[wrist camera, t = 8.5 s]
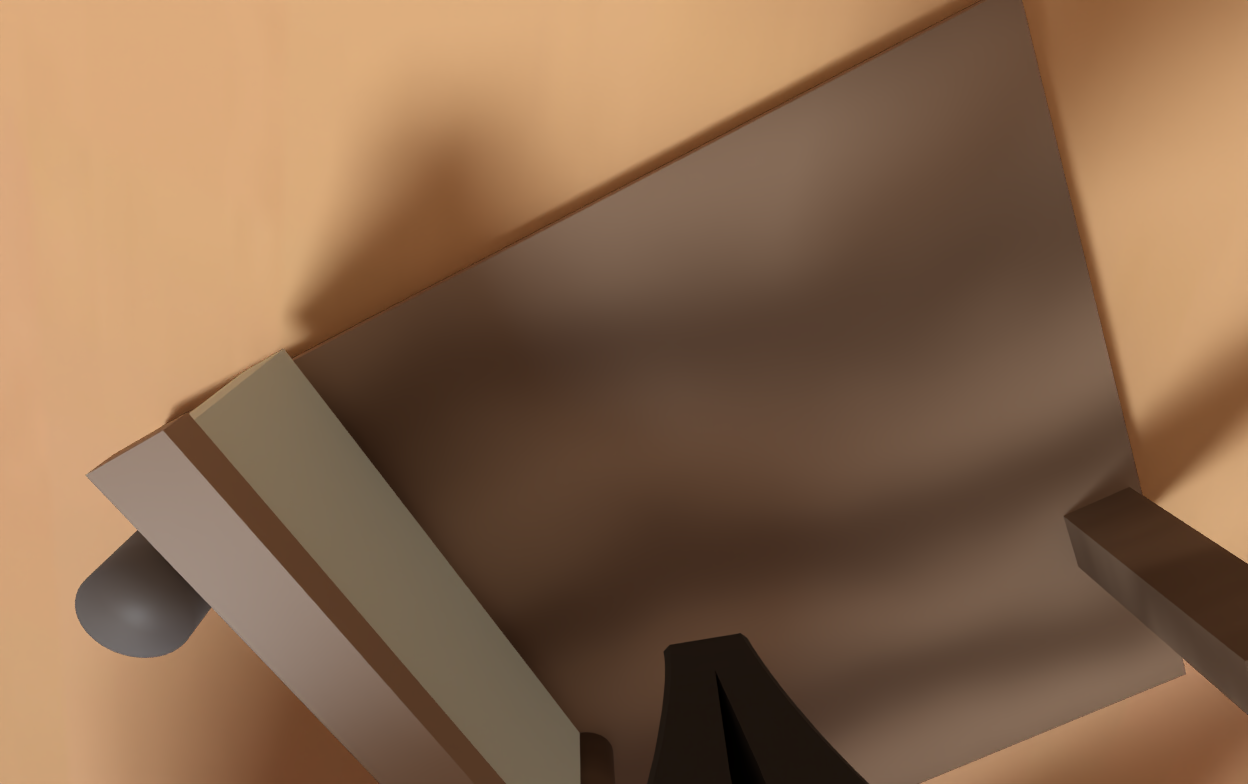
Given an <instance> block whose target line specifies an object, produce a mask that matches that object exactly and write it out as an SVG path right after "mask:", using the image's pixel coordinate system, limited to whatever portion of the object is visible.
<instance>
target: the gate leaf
mask: <svg viewBox="0 0 1248 784" xmlns="http://www.w3.org/2000/svg"><path fill="white" fill-rule="evenodd" d="M86 476H87V477H88V478H89V480H90V481H91V482H92V483H93V484H94V485H95V486H96V487H97V488H98V489H99V490H100V491H101V492H102V493H103V494H104V495H105V496H106V497H107V498H108V499H109V500H110V502H111V503H112V504H113V505H114V506H115V507H116V508H117V509H118V510H119V511H120V512H121V513H122V514H123V515H124V516H125V517H126V518H127V519H128V520H129V521H130V522H131V524H132V525H133V526H134V527H135V528H136V529H137V530H138V531H139V532H140V533H141V534H142V535H143V536H144V537H145V538H146V539H147V540H148V541H149V542H150V543H151V544H152V546H153V547H154V548H155V549H156V550H157V551H158V552H159V553H160V554H161V555H162V556H163V557H164V558H165V559H166V560H167V561H168V562H169V563H170V564H171V565H172V566H173V567H174V569H175V570H176V571H177V572H178V573H179V574H180V575H181V576H182V577H183V578H184V579H185V580H186V581H187V582H188V583H189V584H190V585H191V586H192V587H193V588H194V589H195V591H196V592H197V593H198V594H199V595H200V596H201V597H202V598H203V599H204V600H205V601H206V602H207V603H208V604H209V605H210V606H211V607H212V608H213V609H214V610H215V611H216V613H217V614H218V615H219V616H220V617H221V618H222V619H223V620H224V621H225V622H226V623H227V624H228V625H229V626H230V627H231V628H232V629H233V630H234V631H235V632H236V633H237V635H238V636H239V637H240V638H241V639H242V640H243V641H244V642H245V643H246V644H247V645H248V646H249V647H250V648H251V649H252V650H253V651H254V652H255V653H256V654H257V655H258V657H259V658H260V659H261V660H262V661H263V662H264V663H265V664H266V665H267V666H268V667H269V668H270V669H271V670H272V671H273V672H274V673H275V674H276V675H277V676H278V677H279V679H280V680H281V681H282V682H283V683H284V684H285V685H286V686H287V687H288V688H289V689H290V690H291V691H292V692H293V693H294V694H295V695H296V696H297V697H298V698H299V699H300V700H301V702H302V703H303V704H304V705H305V706H306V707H307V708H308V709H309V710H310V711H311V712H312V713H313V714H314V715H315V716H316V717H317V718H318V719H319V720H320V721H321V722H322V724H323V725H324V726H325V727H326V728H327V729H328V730H329V731H330V732H331V733H332V734H333V735H334V736H335V737H336V738H337V739H338V740H339V741H340V742H341V743H342V744H343V746H344V747H345V748H346V749H347V750H348V751H349V752H350V753H351V754H352V755H353V756H354V757H355V758H356V759H357V760H358V761H359V762H360V763H361V764H362V765H363V766H364V768H365V769H366V770H367V771H368V772H369V773H370V774H371V775H372V776H373V777H374V778H375V779H376V780H377V781H378V782H379V783H380V784H581V782H580V733H579V731H578V730H577V729H576V727H575V726H574V725H573V724H572V722H571V721H570V720H569V718H568V717H567V716H566V714H565V713H564V712H563V711H562V709H561V708H560V707H559V705H558V704H557V703H556V702H555V700H554V699H553V698H552V696H551V695H550V694H549V692H548V691H547V690H546V689H545V687H544V686H543V685H542V683H541V682H540V681H539V679H538V678H537V677H536V676H535V674H534V673H533V672H532V670H531V669H530V668H529V666H528V665H527V664H526V663H525V661H524V660H523V659H522V657H521V656H520V655H519V653H518V652H517V651H516V650H515V648H514V647H513V646H512V644H511V643H510V642H509V640H508V639H507V638H506V637H505V635H504V634H503V633H502V631H501V630H500V629H499V627H498V626H497V625H496V624H495V622H494V621H493V620H492V618H491V617H490V616H489V614H488V613H487V612H486V611H485V609H484V608H483V607H482V605H481V604H480V603H479V602H478V600H477V599H476V598H475V596H474V595H473V594H472V592H471V591H470V590H469V589H468V587H467V586H466V585H465V583H464V582H463V581H462V579H461V578H460V577H459V576H458V574H457V573H456V572H455V570H454V569H453V568H452V566H451V565H450V564H449V563H448V561H447V560H446V559H445V557H444V556H443V555H442V553H441V552H440V551H439V550H438V548H437V547H436V546H435V544H434V543H433V542H432V540H431V539H430V538H429V537H428V535H427V534H426V533H425V531H424V530H423V529H422V527H421V526H420V525H419V524H418V522H417V521H416V520H415V518H414V517H413V516H412V514H411V513H410V512H409V511H408V509H407V508H406V507H405V505H404V504H403V503H402V502H401V500H400V499H399V498H398V496H397V495H396V494H395V492H394V491H393V490H392V489H391V487H390V486H389V485H388V483H387V482H386V481H385V479H384V478H383V477H382V476H381V474H380V473H379V472H378V470H377V469H376V468H375V466H374V465H373V464H372V463H371V461H370V460H369V459H368V457H367V456H366V455H365V453H364V452H363V451H362V450H361V448H360V447H359V446H358V444H357V443H356V442H355V440H354V439H353V438H352V437H351V435H350V434H349V433H348V431H347V430H346V429H345V427H344V426H343V425H342V424H341V422H340V421H339V420H338V418H337V417H336V416H335V414H334V413H333V412H332V411H331V409H330V408H329V407H328V405H327V404H326V403H325V401H324V400H323V399H322V398H321V396H320V395H319V394H318V392H317V391H316V390H315V389H314V387H313V386H312V385H311V383H310V382H309V381H308V379H307V378H306V377H305V376H304V374H303V373H302V372H301V370H300V369H299V368H298V366H297V365H296V364H295V363H294V361H293V360H292V359H291V357H290V356H289V355H288V353H287V352H286V351H285V350H284V349H282V350H280V351H279V352H277V353H275V354H273V355H272V356H270V357H268V358H267V359H265V360H263V361H261V362H260V363H258V364H256V365H254V366H253V367H251V368H249V369H247V370H246V371H244V372H242V373H241V374H240V375H238V376H237V377H236V378H234V379H233V380H232V381H230V382H229V383H228V384H227V385H225V386H224V387H223V388H221V389H220V390H219V391H217V392H216V393H215V394H214V395H212V396H211V397H210V398H208V399H207V400H206V401H204V402H203V403H202V404H201V405H199V406H198V407H197V408H195V409H194V410H193V411H191V412H190V413H188V412H187V413H185V414H183V415H181V416H180V417H178V418H176V419H174V420H173V421H171V422H169V423H167V424H166V425H164V426H162V427H160V428H159V429H157V430H155V431H154V432H152V433H150V434H148V435H147V436H145V437H143V438H141V439H140V440H138V441H136V442H134V443H133V444H131V445H129V446H127V447H126V448H124V449H122V450H120V451H119V452H117V453H115V454H114V455H112V456H111V457H110V458H108V459H107V460H105V461H104V462H103V463H101V464H100V465H99V466H97V467H96V468H94V469H93V470H92V471H90V472H89V473H88V474H86Z"/></svg>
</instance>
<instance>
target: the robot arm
mask: <svg viewBox="0 0 1248 784" xmlns="http://www.w3.org/2000/svg"><path fill="white" fill-rule="evenodd" d="M663 652H664V660H665V684H664V695H663V704H662V712H661V718H660V724H659V730H658V736H657V742H656V747H655V752H654V757H653V761H652V765H651V769H650V773H649V778H648V782H647V784H869V783H868V782H867V781H866V780H865V779H864V778H863V777H862V776H861V775H860V774H859V773H858V772H857V771H856V770H855V769H854V768H853V767H852V766H851V765H850V764H849V763H848V762H847V761H846V760H845V759H844V758H843V757H842V756H841V755H840V754H839V753H838V752H837V751H836V750H835V749H834V747H833V746H832V745H831V744H830V743H829V742H828V741H827V740H826V739H825V738H824V737H823V736H822V734H821V733H820V732H819V731H818V730H817V729H816V728H815V727H814V725H813V724H812V723H811V722H810V721H809V720H808V718H807V717H806V716H805V715H804V714H803V713H802V711H801V710H800V709H799V708H798V707H797V706H796V704H795V703H794V702H793V701H792V700H791V698H790V697H789V696H788V695H787V693H786V692H785V691H784V690H783V688H782V687H781V686H780V684H779V683H778V682H777V680H776V679H775V678H774V676H773V675H772V674H771V673H770V671H769V670H768V668H767V667H766V666H765V664H764V663H763V661H762V660H761V658H760V657H759V656H758V654H757V652H756V651H755V649H754V648H753V646H752V645H751V643H750V641H749V640H748V638H747V637H745V636H744V635H743V634H741V633H738V634H732V635H726V636H720V637H714V638H708V639H702V640H695V641H689V642H683V643H677V644H671V645H669V646H668V647H667V648H666V649H665V650H664V651H663Z"/></svg>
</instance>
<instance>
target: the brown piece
mask: <svg viewBox="0 0 1248 784" xmlns="http://www.w3.org/2000/svg"><path fill="white" fill-rule="evenodd" d="M292 360H293V361H294V363H295V364H296V365H297V366H298V368H299V369H300V370H301V372H302V373H303V374H304V376H305V377H306V378H307V379H308V381H309V382H310V383H311V385H312V386H313V387H314V389H315V390H316V391H317V392H318V394H319V395H320V396H321V398H322V399H323V400H324V401H325V403H326V404H327V405H328V407H329V408H330V409H331V411H332V412H333V413H334V414H335V416H336V417H337V418H338V420H339V421H340V422H341V424H342V425H343V426H344V427H345V429H346V430H347V431H348V433H349V434H350V435H351V437H352V438H353V439H354V440H355V442H356V443H357V444H358V446H359V447H360V448H361V450H362V451H363V452H364V453H365V455H366V456H367V457H368V459H369V460H370V461H371V463H372V464H373V465H374V466H375V468H376V469H377V470H378V472H379V473H380V474H381V476H382V477H383V478H384V479H385V481H386V482H387V483H388V485H389V486H390V487H391V489H392V490H393V491H394V492H395V494H396V495H397V496H398V498H399V499H400V500H401V502H402V503H403V504H404V505H405V507H406V508H407V509H408V511H409V512H410V513H411V514H412V516H413V517H414V518H415V520H416V521H417V522H418V524H419V525H420V526H421V527H422V529H423V530H424V531H425V533H426V534H427V535H428V537H429V538H430V539H431V540H432V542H433V543H434V544H435V546H436V547H437V548H438V550H439V551H440V552H441V553H442V555H443V556H444V557H445V559H446V560H447V561H448V563H449V564H450V565H451V566H452V568H453V569H454V570H455V572H456V573H457V574H458V576H459V577H460V578H461V579H462V581H463V582H464V583H465V585H466V586H467V587H468V589H469V590H470V591H471V592H472V594H473V595H474V596H475V598H476V599H477V600H478V602H479V603H480V604H481V605H482V607H483V608H484V609H485V611H486V612H487V613H488V614H489V616H490V617H491V618H492V620H493V621H494V622H495V624H496V625H497V626H498V627H499V629H500V630H501V631H502V633H503V634H504V635H505V637H506V638H507V639H508V640H509V642H510V643H511V644H512V646H513V647H514V648H515V650H516V651H517V652H518V653H519V655H520V656H521V657H522V659H523V660H524V661H525V663H526V664H527V665H528V666H529V668H530V669H531V670H532V672H533V673H534V674H535V676H536V677H537V678H538V679H539V681H540V682H541V683H542V685H543V686H544V687H545V689H546V690H547V691H548V692H549V694H550V695H551V696H552V698H553V699H554V700H555V702H556V703H557V704H558V705H559V707H560V708H561V709H562V711H563V712H564V713H565V714H566V716H567V717H568V718H569V720H570V721H571V722H572V724H573V725H574V726H575V727H576V729H577V730H578V731H579V733H580V782H581V784H647V782H648V778H649V773H650V769H651V765H652V761H653V757H654V752H655V747H656V742H657V736H658V730H659V724H660V718H661V712H662V704H663V695H664V684H665V660H664V652H663V651H664V650H665V649H666V648H667V647H668V646H669V645H671V644H677V643H683V642H689V641H695V640H702V639H708V638H714V637H720V636H726V635H732V634H738V633H741V634H743V635H744V636H745V637H747V638H748V640H749V641H750V643H751V645H752V646H753V648H754V649H755V651H756V652H757V654H758V656H759V657H760V658H761V660H762V661H763V663H764V664H765V666H766V667H767V668H768V670H769V671H770V673H771V674H772V675H773V676H774V678H775V679H776V680H777V682H778V683H779V684H780V686H781V687H782V688H783V690H784V691H785V692H786V693H787V695H788V696H789V697H790V698H791V700H792V701H793V702H794V703H795V704H796V706H797V707H798V708H799V709H800V710H801V711H802V713H803V714H804V715H805V716H806V717H807V718H808V720H809V721H810V722H811V723H812V724H813V725H814V727H815V728H816V729H817V730H818V731H819V732H820V733H821V734H822V736H823V737H824V738H825V739H826V740H827V741H828V742H829V743H830V744H831V745H832V746H833V747H834V749H835V750H836V751H837V752H838V753H839V754H840V755H841V756H842V757H843V758H844V759H845V760H846V761H847V762H848V763H849V764H850V765H851V766H852V767H853V768H854V769H855V770H856V771H857V772H858V773H859V774H860V775H861V776H862V777H863V778H864V779H865V780H866V781H867V782H868V783H869V784H920V783H922V782H924V781H927V780H929V779H932V778H934V777H937V776H939V775H941V774H944V773H946V772H949V771H951V770H954V769H956V768H958V767H961V766H963V765H966V764H968V763H971V762H973V761H976V760H978V759H980V758H983V757H985V756H988V755H990V754H993V753H995V752H997V751H1000V750H1002V749H1005V748H1007V747H1010V746H1012V745H1014V744H1017V743H1019V742H1022V741H1024V740H1027V739H1029V738H1031V737H1034V736H1036V735H1039V734H1041V733H1044V732H1046V731H1048V730H1051V729H1053V728H1056V727H1058V726H1061V725H1063V724H1066V723H1068V722H1070V721H1073V720H1075V719H1078V718H1080V717H1083V716H1085V715H1087V714H1090V713H1092V712H1095V711H1097V710H1100V709H1102V708H1104V707H1107V706H1109V705H1112V704H1114V703H1117V702H1119V701H1121V700H1124V699H1126V698H1129V697H1131V696H1134V695H1136V694H1138V693H1141V692H1143V691H1146V690H1148V689H1151V688H1153V687H1156V686H1158V685H1160V684H1163V683H1165V682H1168V681H1170V680H1173V679H1175V678H1177V677H1180V676H1182V675H1185V674H1186V672H1185V668H1184V663H1183V659H1184V660H1186V661H1187V662H1188V663H1189V664H1190V665H1191V666H1192V667H1194V668H1195V669H1196V670H1197V671H1198V672H1199V673H1200V674H1202V675H1203V676H1204V677H1205V678H1206V679H1207V680H1208V681H1210V682H1211V683H1212V684H1213V685H1214V686H1215V687H1216V688H1218V689H1219V690H1220V691H1221V692H1222V693H1223V694H1224V695H1226V696H1227V697H1228V698H1229V699H1230V700H1231V701H1232V702H1234V703H1235V704H1236V705H1237V706H1238V707H1239V708H1240V709H1242V710H1243V711H1244V712H1245V713H1246V714H1247V715H1248V564H1247V563H1245V562H1244V561H1242V560H1241V559H1239V558H1238V557H1236V556H1235V555H1233V554H1232V553H1230V552H1229V551H1227V550H1226V549H1224V548H1222V547H1221V546H1219V545H1218V544H1216V543H1215V542H1213V541H1212V540H1210V539H1209V538H1207V537H1206V536H1204V535H1203V534H1201V533H1199V532H1198V531H1196V530H1195V529H1193V528H1192V527H1190V526H1189V525H1187V524H1186V523H1184V522H1183V521H1181V520H1179V519H1178V518H1176V517H1175V516H1173V515H1172V514H1170V513H1169V512H1167V511H1166V510H1164V509H1163V508H1161V507H1160V506H1158V505H1156V504H1155V503H1153V502H1152V501H1150V500H1149V499H1147V498H1146V497H1144V496H1143V495H1142V491H1141V487H1140V483H1139V479H1138V475H1137V470H1136V466H1135V462H1134V458H1133V454H1132V450H1131V446H1130V442H1129V438H1128V434H1127V429H1126V425H1125V421H1124V417H1123V413H1122V409H1121V405H1120V401H1119V397H1118V392H1117V388H1116V384H1115V380H1114V376H1113V372H1112V368H1111V364H1110V360H1109V355H1108V351H1107V347H1106V343H1105V339H1104V335H1103V331H1102V327H1101V323H1100V319H1099V314H1098V310H1097V306H1096V302H1095V298H1094V294H1093V290H1092V286H1091V282H1090V277H1089V273H1088V269H1087V265H1086V261H1085V257H1084V253H1083V249H1082V245H1081V241H1080V236H1079V232H1078V228H1077V224H1076V220H1075V216H1074V212H1073V208H1072V204H1071V199H1070V195H1069V191H1068V187H1067V183H1066V179H1065V175H1064V171H1063V167H1062V162H1061V158H1060V154H1059V150H1058V146H1057V142H1056V138H1055V134H1054V130H1053V126H1052V121H1051V117H1050V113H1049V109H1048V105H1047V101H1046V97H1045V93H1044V89H1043V84H1042V80H1041V76H1040V72H1039V68H1038V64H1037V60H1036V56H1035V52H1034V48H1033V43H1032V39H1031V35H1030V31H1029V27H1028V23H1027V19H1026V15H1025V11H1024V6H1023V2H1022V0H981V1H979V2H977V3H975V4H973V5H971V6H969V7H967V8H965V9H963V10H961V11H960V12H958V13H956V14H954V15H952V16H950V17H948V18H946V19H944V20H942V21H940V22H938V23H936V24H935V25H933V26H931V27H929V28H927V29H925V30H923V31H921V32H919V33H917V34H915V35H913V36H911V37H909V38H908V39H906V40H904V41H902V42H900V43H898V44H896V45H894V46H892V47H890V48H888V49H886V50H884V51H883V52H881V53H879V54H877V55H875V56H873V57H871V58H869V59H867V60H865V61H863V62H861V63H859V64H858V65H856V66H854V67H852V68H850V69H848V70H846V71H844V72H842V73H840V74H838V75H836V76H834V77H833V78H831V79H829V80H827V81H825V82H823V83H821V84H819V85H817V86H815V87H813V88H811V89H809V90H807V91H806V92H804V93H802V94H800V95H798V96H796V97H794V98H792V99H790V100H788V101H786V102H784V103H782V104H781V105H779V106H777V107H775V108H773V109H771V110H769V111H767V112H765V113H763V114H761V115H759V116H757V117H756V118H754V119H752V120H750V121H748V122H746V123H744V124H742V125H740V126H738V127H736V128H734V129H732V130H731V131H729V132H727V133H725V134H723V135H721V136H719V137H717V138H715V139H713V140H711V141H709V142H707V143H705V144H704V145H702V146H700V147H698V148H696V149H694V150H692V151H690V152H688V153H686V154H684V155H682V156H680V157H679V158H677V159H675V160H673V161H671V162H669V163H667V164H665V165H663V166H661V167H659V168H657V169H655V170H654V171H652V172H650V173H648V174H646V175H644V176H642V177H640V178H638V179H636V180H634V181H632V182H630V183H628V184H627V185H625V186H623V187H621V188H619V189H617V190H615V191H613V192H611V193H609V194H607V195H605V196H603V197H602V198H600V199H598V200H596V201H594V202H592V203H590V204H588V205H586V206H584V207H582V208H580V209H578V210H577V211H575V212H573V213H571V214H569V215H567V216H565V217H563V218H561V219H559V220H557V221H555V222H553V223H552V224H550V225H548V226H546V227H544V228H542V229H540V230H538V231H536V232H534V233H532V234H530V235H528V236H526V237H525V238H523V239H521V240H519V241H517V242H515V243H513V244H511V245H509V246H507V247H505V248H503V249H501V250H500V251H498V252H496V253H494V254H492V255H490V256H488V257H486V258H484V259H482V260H480V261H478V262H476V263H475V264H473V265H471V266H469V267H467V268H465V269H463V270H461V271H459V272H457V273H455V274H453V275H451V276H450V277H448V278H446V279H444V280H442V281H440V282H438V283H436V284H434V285H432V286H430V287H428V288H426V289H424V290H423V291H421V292H419V293H417V294H415V295H413V296H411V297H409V298H407V299H405V300H403V301H401V302H399V303H398V304H396V305H394V306H392V307H390V308H388V309H386V310H384V311H382V312H380V313H378V314H376V315H374V316H373V317H371V318H369V319H367V320H365V321H363V322H361V323H359V324H357V325H355V326H353V327H351V328H349V329H347V330H346V331H344V332H342V333H340V334H338V335H336V336H334V337H332V338H330V339H328V340H326V341H324V342H322V343H321V344H319V345H317V346H315V347H313V348H311V349H309V350H307V351H305V352H303V353H301V354H299V355H297V356H296V357H294V358H292ZM192 411H193V410H192ZM190 412H191V411H190ZM190 412H188V413H190ZM172 421H173V420H172ZM170 422H171V421H170ZM165 425H166V424H165ZM163 426H164V425H163ZM210 608H211V606H210V605H209V604H208V603H207V602H206V601H205V600H204V599H203V598H202V597H201V596H200V595H199V594H198V593H197V592H196V591H195V589H194V588H193V587H192V586H191V585H190V584H189V583H188V582H187V581H186V580H185V579H184V578H183V577H182V576H181V575H180V574H179V573H178V572H177V571H176V570H175V569H174V567H173V566H172V565H171V564H170V563H169V562H168V561H167V560H166V559H165V558H164V557H163V556H162V555H161V554H160V553H159V552H158V551H157V550H156V549H155V548H154V547H153V546H152V544H151V543H150V542H149V541H148V540H147V539H146V538H145V537H144V536H143V535H142V534H141V533H140V532H139V531H138V530H137V531H136V532H135V533H134V534H133V535H132V536H131V537H130V538H129V539H128V540H127V541H126V542H125V543H124V544H123V545H121V546H120V547H119V548H118V549H117V550H116V551H115V552H114V553H113V554H112V555H111V556H110V557H109V558H108V559H107V560H106V561H105V562H104V563H102V564H101V565H100V566H99V567H98V568H97V569H96V570H95V571H94V572H93V573H92V574H91V575H90V576H89V577H88V578H87V579H86V580H85V581H84V582H83V583H82V584H81V586H80V588H79V589H78V592H77V594H76V599H75V609H76V614H77V617H78V619H79V621H80V623H81V625H82V627H83V628H84V629H85V631H86V632H87V633H88V634H89V635H90V636H91V637H92V638H93V639H94V640H95V641H97V642H98V643H99V644H101V645H102V646H104V647H106V648H108V649H110V650H112V651H114V652H117V653H120V654H123V655H127V656H132V657H140V658H149V657H158V656H162V655H166V654H168V653H171V652H173V651H175V650H176V649H178V648H179V647H181V646H182V645H183V644H184V643H185V642H186V641H187V640H188V638H189V637H190V636H191V634H192V633H193V631H194V630H195V629H196V627H197V626H198V625H199V623H200V622H201V621H202V619H203V618H204V617H205V615H206V614H207V612H208V611H209V610H210ZM1182 658H1183V659H1182Z"/></svg>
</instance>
